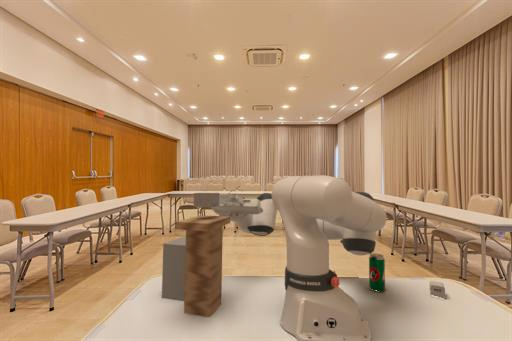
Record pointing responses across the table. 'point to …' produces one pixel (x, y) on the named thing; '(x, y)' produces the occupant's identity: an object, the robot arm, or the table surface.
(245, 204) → the robot arm
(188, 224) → the brown wooden post
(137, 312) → the table surface
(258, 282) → the table surface
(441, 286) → the usb wall charger
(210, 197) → the link bar
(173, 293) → the pedestal
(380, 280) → the soda can
